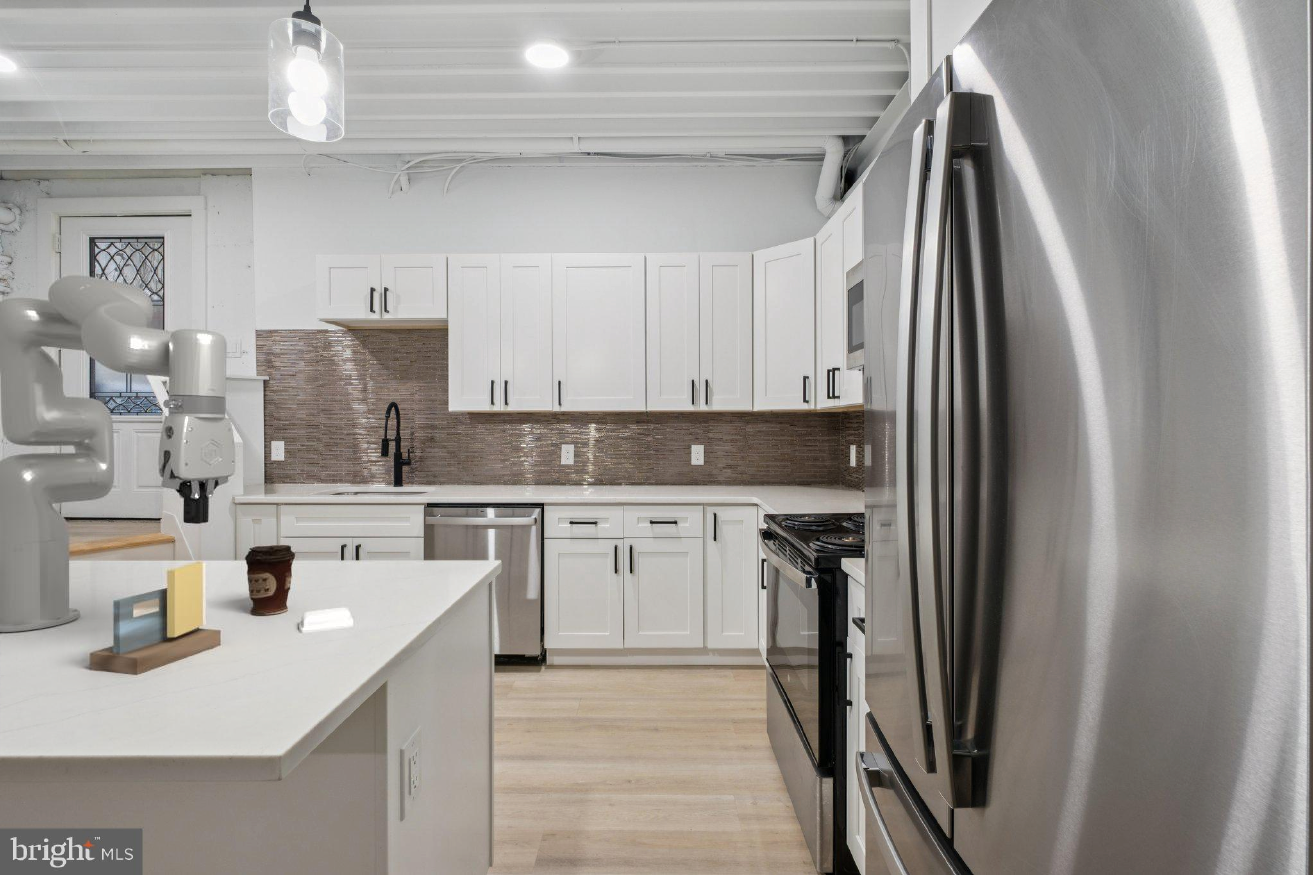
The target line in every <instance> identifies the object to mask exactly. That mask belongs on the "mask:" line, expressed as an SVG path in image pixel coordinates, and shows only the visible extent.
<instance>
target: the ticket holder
mask: <svg viewBox="0 0 1313 875" xmlns="http://www.w3.org/2000/svg"><path fill="white" fill-rule="evenodd" d="M112 606H113V608H112V609H113V610H112V612H113V614H112V616H113V619H112V620H113V621H112V622H113V623H112V624H113V625H112V626H113V634H112V635H113V645H112V646H108V647H104V648H102V649H98V650H95V651H91V652H89V671H90V670H92V671H101V672H109V673H118V674H126V675H134V676H135V675H140V674H143V673H146V672H150V671H151V670H155V669H157V668H160V667H164V666H166V665H169V664H172V663H174V662H177V661H180V660H183V659H186V658H188V657H191V656H195V655H197V654H200V653H202V652H206V651H207V650H210V649H213V648H216V647H219V646H221V642H222V641H221V635H222V634H221V630H220V629H211V628H210V629H209V628H208V629H207V628H200V627H198V628H196V629H193V630H191V631H188V632H186V633H184V634H181V635H179V636H176V637H167V587H165V588H162V589H157V590H152V591H148V592H145V593H144V592H143V593H140V594H136V595H132V596H127V597H122V598H118V599H114V600H113V603H112Z"/></svg>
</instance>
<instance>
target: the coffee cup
mask: <svg viewBox="0 0 1313 875" xmlns="http://www.w3.org/2000/svg"><path fill="white" fill-rule="evenodd" d="M295 557H296V552H294V551H292V546H291V545H289V544H288V545H287V544H279V545H275V544H274V545H273V544H272V545H265V546H264V545H262V546H261V545H260V546H258V545H257V546H253V547H249V548H248V552H247V554H246V556H244V560H245V563H246V566H247V571H246V575H247V583H248V584H247V585H248V593H249V594H248V596H249V598H250V601H251V602H252V607H251V610H250V613H251V614H252V615H257V616H258V615H259V616H260V615H261V616H262V615H263V616H264V615H267V616H268V615H277V614H282V613H285V612H288V611H289V607H288V605H287V602H288V598H289V592H290V590H291V583H292V577H293V574H292V567H293V566H292V565H293V562H294V559H295Z"/></svg>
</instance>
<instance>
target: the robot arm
mask: <svg viewBox="0 0 1313 875" xmlns="http://www.w3.org/2000/svg"><path fill="white" fill-rule="evenodd" d="M47 292H48V293H47V297H48V300H47V299H42V298H39V299H38V298H31V297H30V298H29V297H9V298H5V299H2V300H0V412H1V413H0V414H1V417H0V419H1V428H2V433H3V436H4V437H5V439H6V440H7V441H8V442H9V443H11V444H14V445H18V446H25V447H27V446H28V447H62V446H63V447H66V446H67V447H68V446H70V447H73V449H74V452H59V453H58V452H45V453H44V452H42V453H41V452H35V453H34V452H33V453H21V454H13V455H11V456H7V457H5V458H2V459H1V460H0V633H13V632H24V631H32V630H39V629H40V630H41V629H45V628H51V627H56V626H59V625H64V624H67V623H71V622H72V621H73V622H74V621H75V620H77V619H78V618H80V617H81V610H80V609H77V608H74V607H70V529H69V524H68V522H67V520H66V519H65V517H64V516H63V515H62V514H61V513H60V512H59V511H58V510H57V509H56V508H55V507H54V505H53V504H60V503H61V504H62V503H71V502H72V503H74V502H83V501H94V500H99V499H103V498H104V497H106V496H107V495H109V493H110V492H111V490H112V489H113V486H114V480H115V447H114V446H115V445H114V444H115V441H114V423H113V418H112V415H111V411H110V410H109V409H108V407H107V406H106V405H105V404H104V403H103V402H102V401H100V400H98V399H94V398H91V397H82V396H81V397H78V396H66V395H65V392H64V375H63V372H62V369H61V367H60V366H59V364H58V363H57V362H56V360H55V359H54V358H53V357H52V356H51V355H50V354H49V353H48V352H47V351H46V350H45V349H43V347H47V348H53V349H54V348H57V349H63V350H64V349H65V350H74V351H84V352H85V353H86V354H87V355H88V356H89V357H90V358H91V359H92V360H94V361H96V362H97V363H99V364H100V365H102V366H103V367H105V368H107V369H109V370H111V371H113V372H116V373H121V374H128V375H140V376H141V375H144V376H154V377H155V376H156V377H165V378H166V377H167V378H168V399H164V400H163V403H162V405H163V407H164V408H165V409H167V411H168V414H167V416H165V417H164V420H163V423H162V427H161V432H160V438H159V448H158V459H157V460H158V463H157V464H158V474H159V476H160V477H161V478H162V479H161V487H162V488H164V489H170V490H175V492H176V493H178V495H179V498H181V499H183V513H182V514H183V523H184V524H194V525H196V524H197V525H200V524H205V523H208V522H209V513H210V512H209V510H210V504H209V502H210V501H209V500H210V498H212V497H213V495H214V491H215V490H216V489H217V488H218V486H219V487H220V486H222V485H225V484H227V483H228V482H229V477H232V476H233V475H234V474H235V472H236V449H235V448H236V447H235V439H234V438H235V437H234V430H233V424H232V421H231V418H230V417H226V414H227V413H226V408H227V406H226V405H227V404H226V403H227V398H226V395H227V394H226V393H227V350H228V349H227V340H226V338H225V337H224V335H223V334H221V333H219V332H216V331H210V330H204V329H203V330H202V329H193V328H192V329H191V328H190V329H189V328H188V329H187V328H185V329H182V328H181V329H176V330H174V331H169V330H166V329H165V330H164V329H158V328H153V327H152V328H151V327H148V325H149V324H150V323H151V321H152V319H153V315H154V305H153V302H152V300H151V298H150V296H149V295H148V293H147V292H146V291H144V290H143V289H142V288H140V287H139V286H136V285H133V284H129V283H125V282H120V281H113V280H109V279H103V278H98V277H94V276H87V275H75V274H73V275H67V276H62V277H60V278H58V279H57V280H55V281H54V282H53V283H51V285H50V287H49V288H48V291H47Z"/></svg>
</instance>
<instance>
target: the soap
mask: <svg viewBox="0 0 1313 875" xmlns="http://www.w3.org/2000/svg"><path fill="white" fill-rule="evenodd" d="M351 627H354V618H353V617H352V614H351V612H350V610H349V609H348V608H347V607H345V606H344V607H335V608H326V609H319V610H318V609H317V610H311V611H305V612H303V613H302V615H301V620H300V621H299V623H298V631H299V633H301V634H306V633H316V632H324V631H333V630H340V629H345V628H351Z"/></svg>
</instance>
